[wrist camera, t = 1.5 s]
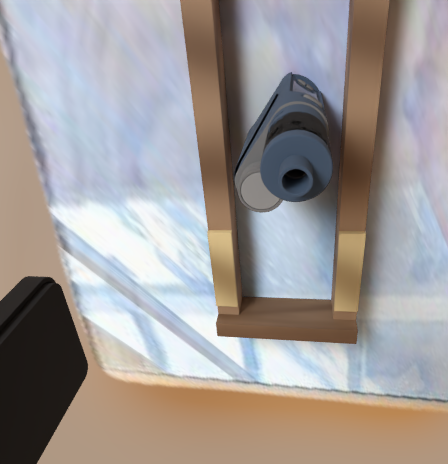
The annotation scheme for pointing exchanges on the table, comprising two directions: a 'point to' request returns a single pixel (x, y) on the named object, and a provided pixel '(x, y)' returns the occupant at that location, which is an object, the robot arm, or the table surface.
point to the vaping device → (286, 149)
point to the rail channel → (349, 187)
